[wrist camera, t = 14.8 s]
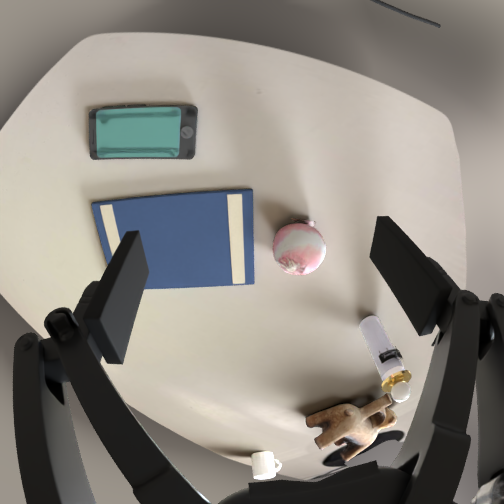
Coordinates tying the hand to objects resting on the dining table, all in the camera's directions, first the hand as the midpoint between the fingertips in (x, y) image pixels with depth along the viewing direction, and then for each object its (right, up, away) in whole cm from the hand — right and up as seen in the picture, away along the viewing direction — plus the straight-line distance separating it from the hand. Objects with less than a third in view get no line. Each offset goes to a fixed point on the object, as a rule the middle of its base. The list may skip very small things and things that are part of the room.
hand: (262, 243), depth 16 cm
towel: (-12, +1, +29) cm, 31 cm away
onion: (+6, +2, +30) cm, 31 cm away
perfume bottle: (+23, -15, +42) cm, 50 cm away
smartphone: (-15, +16, +20) cm, 30 cm away
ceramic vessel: (+32, -51, +64) cm, 88 cm away
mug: (+5, -75, +77) cm, 108 cm away
